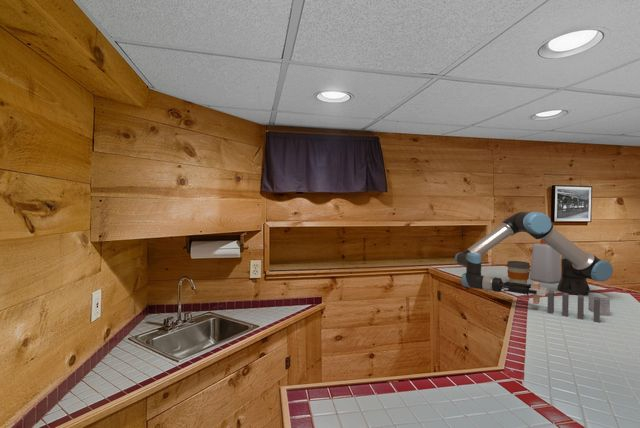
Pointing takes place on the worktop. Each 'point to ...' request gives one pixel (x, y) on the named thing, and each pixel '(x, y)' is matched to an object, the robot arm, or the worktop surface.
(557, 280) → the plastic bottle
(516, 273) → the reusable coffee cup
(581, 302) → the domino
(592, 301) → the medicine box
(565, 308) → the domino
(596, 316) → the domino
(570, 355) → the worktop surface
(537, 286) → the terracotta domino
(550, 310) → the domino
